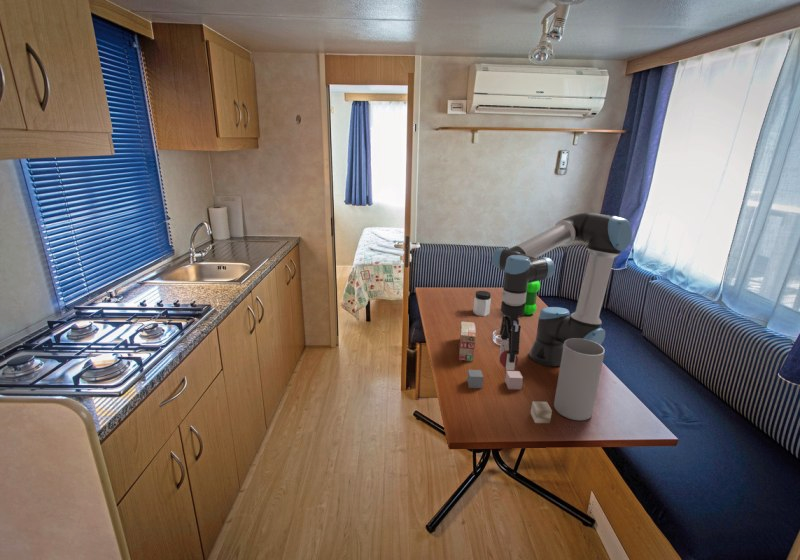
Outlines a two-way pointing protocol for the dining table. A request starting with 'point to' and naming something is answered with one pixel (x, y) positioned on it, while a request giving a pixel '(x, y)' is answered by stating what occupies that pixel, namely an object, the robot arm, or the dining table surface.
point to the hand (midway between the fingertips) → (506, 362)
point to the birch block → (541, 412)
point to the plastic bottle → (531, 297)
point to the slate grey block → (475, 379)
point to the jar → (482, 303)
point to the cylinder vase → (578, 378)
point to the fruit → (504, 358)
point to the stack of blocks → (467, 341)
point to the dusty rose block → (514, 380)
